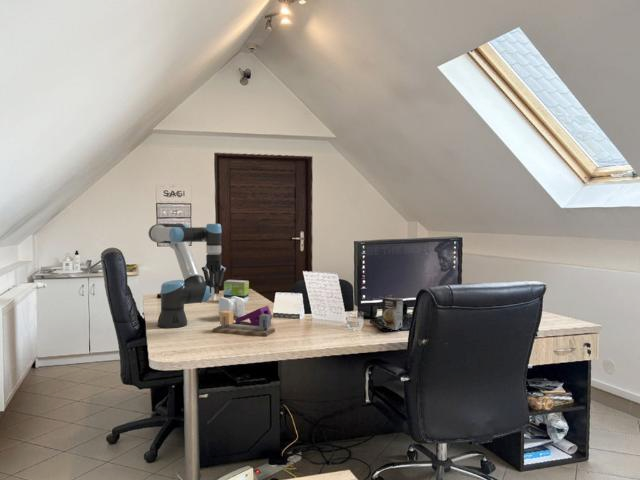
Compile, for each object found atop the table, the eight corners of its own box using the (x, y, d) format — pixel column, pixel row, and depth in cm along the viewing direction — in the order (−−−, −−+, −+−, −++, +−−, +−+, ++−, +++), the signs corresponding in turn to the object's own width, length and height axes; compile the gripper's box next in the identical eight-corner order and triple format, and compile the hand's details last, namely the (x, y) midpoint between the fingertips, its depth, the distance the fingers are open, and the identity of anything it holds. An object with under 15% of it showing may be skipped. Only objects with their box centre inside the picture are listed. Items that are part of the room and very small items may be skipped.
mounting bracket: (237, 336, 260) (265, 323, 254) (231, 321, 261) (259, 308, 255) (246, 332, 269) (274, 320, 263) (240, 317, 270) (267, 305, 264)
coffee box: (381, 328, 254) (381, 298, 254) (388, 326, 259) (388, 296, 258) (395, 331, 248) (396, 300, 248) (402, 329, 253) (403, 298, 252)
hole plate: (212, 332, 241) (212, 328, 241) (222, 327, 252) (222, 324, 252) (266, 336, 234) (266, 333, 234) (274, 331, 244) (275, 328, 244)
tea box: (223, 302, 331) (223, 281, 330) (228, 300, 341) (228, 279, 340) (244, 303, 328) (244, 281, 328) (249, 301, 338) (249, 280, 338)
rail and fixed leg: (218, 328, 243) (218, 313, 243) (224, 325, 250) (224, 311, 249) (265, 331, 236) (266, 316, 236) (270, 329, 243) (270, 314, 242)
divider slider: (218, 327, 243) (218, 312, 243) (224, 324, 250) (224, 310, 249) (227, 327, 242) (227, 313, 242) (233, 325, 248) (233, 311, 248)
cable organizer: (217, 316, 282) (217, 296, 281) (234, 314, 288) (234, 295, 287) (228, 321, 269) (228, 300, 269) (245, 319, 276) (246, 298, 275)
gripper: (198, 253, 245) (198, 300, 246) (222, 254, 242) (221, 301, 242) (206, 253, 253) (206, 298, 253) (228, 253, 249) (228, 299, 250)
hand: (213, 299), depth 248 cm, fingers closed
